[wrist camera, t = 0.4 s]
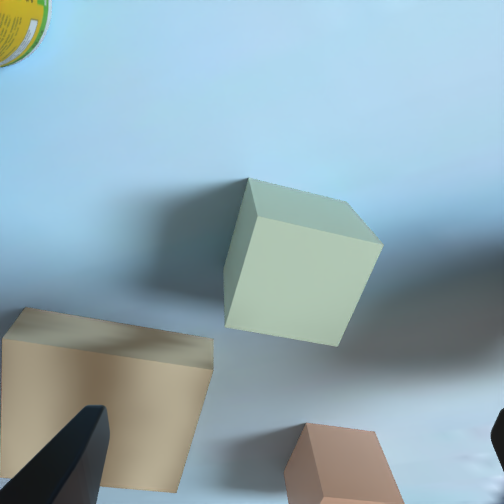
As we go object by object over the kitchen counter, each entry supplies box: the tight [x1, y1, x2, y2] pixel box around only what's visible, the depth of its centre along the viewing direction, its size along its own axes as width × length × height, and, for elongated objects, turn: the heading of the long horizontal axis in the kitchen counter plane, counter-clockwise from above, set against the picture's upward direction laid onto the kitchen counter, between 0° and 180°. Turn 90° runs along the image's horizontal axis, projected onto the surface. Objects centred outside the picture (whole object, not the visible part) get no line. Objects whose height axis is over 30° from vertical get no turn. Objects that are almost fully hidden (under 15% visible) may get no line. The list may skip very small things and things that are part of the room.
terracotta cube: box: [284, 423, 404, 504], centre depth 26 cm, size 5×5×5 cm
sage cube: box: [223, 178, 384, 347], centre depth 18 cm, size 5×5×5 cm
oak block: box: [0, 307, 213, 493], centre depth 23 cm, size 10×10×3 cm
